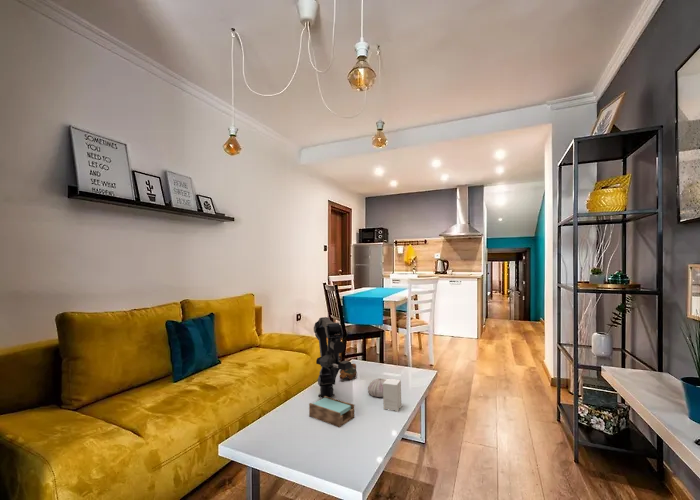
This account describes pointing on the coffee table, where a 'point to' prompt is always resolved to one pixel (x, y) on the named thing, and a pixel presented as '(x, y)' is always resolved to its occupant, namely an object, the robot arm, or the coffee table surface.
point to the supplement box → (392, 394)
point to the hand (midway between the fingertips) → (333, 380)
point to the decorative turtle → (349, 372)
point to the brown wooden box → (331, 414)
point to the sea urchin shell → (376, 387)
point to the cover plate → (333, 405)
